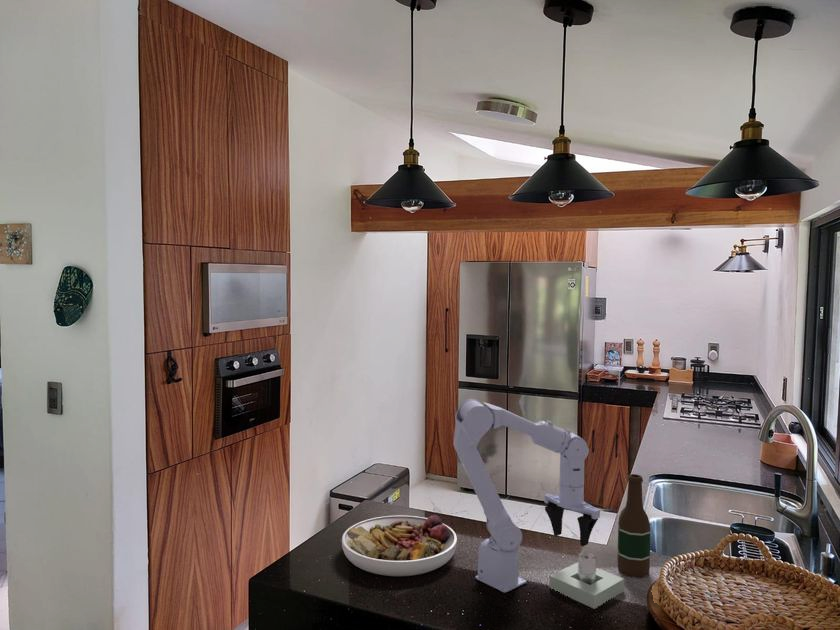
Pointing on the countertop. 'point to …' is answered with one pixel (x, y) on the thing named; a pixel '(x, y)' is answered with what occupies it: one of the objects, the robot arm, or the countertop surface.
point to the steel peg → (587, 568)
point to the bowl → (399, 544)
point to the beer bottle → (634, 533)
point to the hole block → (587, 586)
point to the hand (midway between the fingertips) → (570, 539)
